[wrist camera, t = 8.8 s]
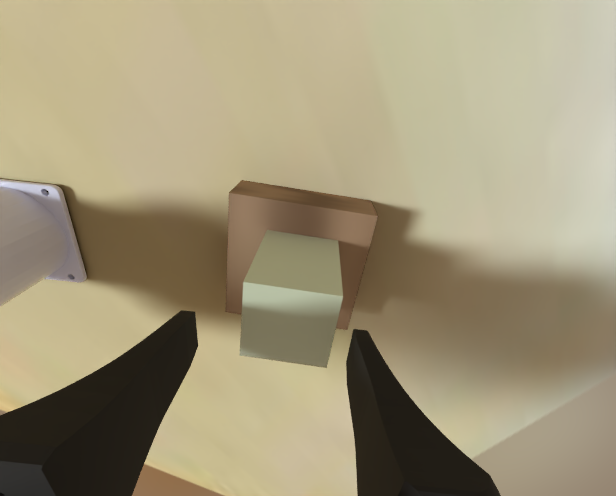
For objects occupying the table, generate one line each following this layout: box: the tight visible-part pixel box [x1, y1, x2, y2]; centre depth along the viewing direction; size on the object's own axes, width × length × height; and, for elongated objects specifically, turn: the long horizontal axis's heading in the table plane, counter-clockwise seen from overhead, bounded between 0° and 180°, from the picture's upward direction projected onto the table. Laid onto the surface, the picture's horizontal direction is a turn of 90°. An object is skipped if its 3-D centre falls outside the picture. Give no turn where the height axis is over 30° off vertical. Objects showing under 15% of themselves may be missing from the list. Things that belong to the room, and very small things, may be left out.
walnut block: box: [226, 180, 378, 330], centre depth 21 cm, size 9×9×4 cm
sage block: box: [240, 230, 343, 368], centre depth 17 cm, size 4×4×6 cm
